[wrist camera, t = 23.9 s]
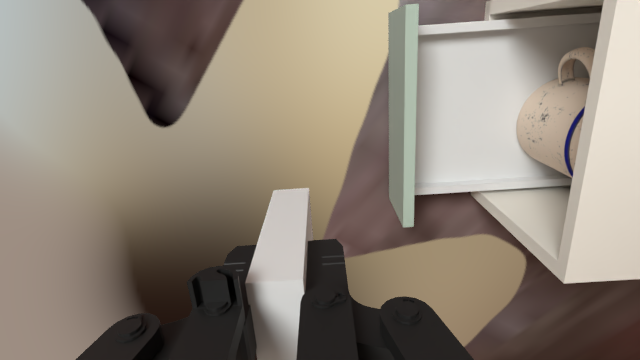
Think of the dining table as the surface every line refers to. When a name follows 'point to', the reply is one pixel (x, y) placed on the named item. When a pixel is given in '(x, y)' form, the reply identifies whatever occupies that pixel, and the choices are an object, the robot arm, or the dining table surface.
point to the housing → (587, 158)
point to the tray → (471, 101)
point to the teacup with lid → (556, 115)
